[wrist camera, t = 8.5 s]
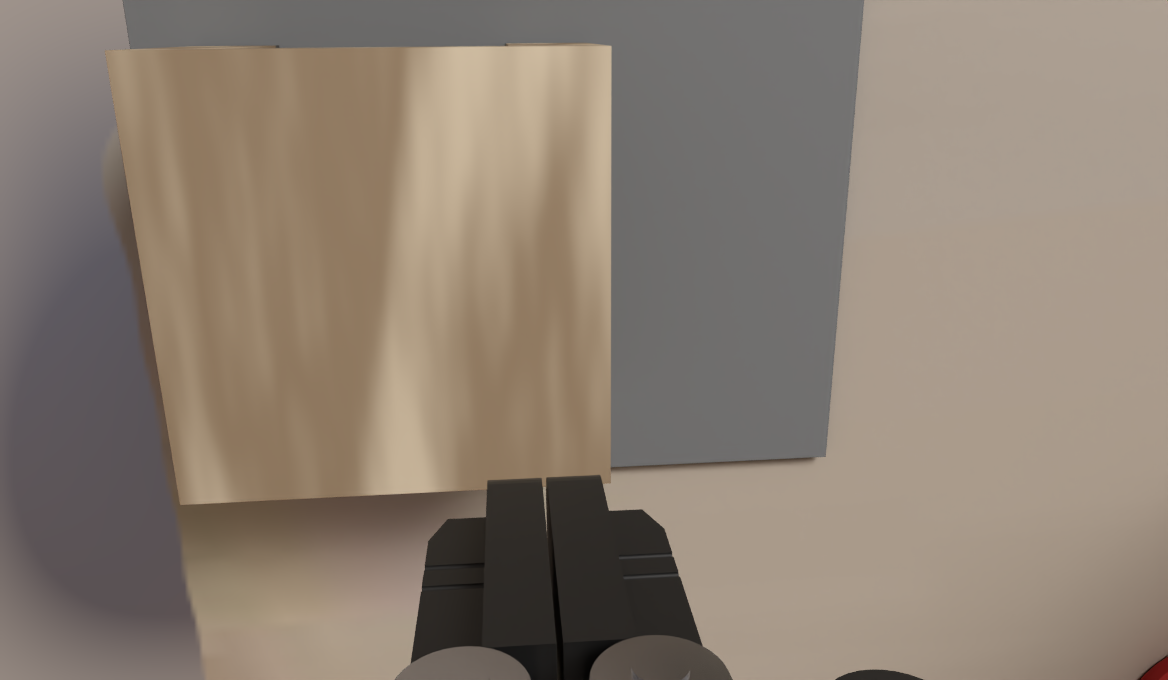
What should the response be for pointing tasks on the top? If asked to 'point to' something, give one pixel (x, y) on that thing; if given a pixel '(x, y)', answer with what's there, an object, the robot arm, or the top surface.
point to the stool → (373, 263)
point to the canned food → (1158, 671)
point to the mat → (665, 190)
